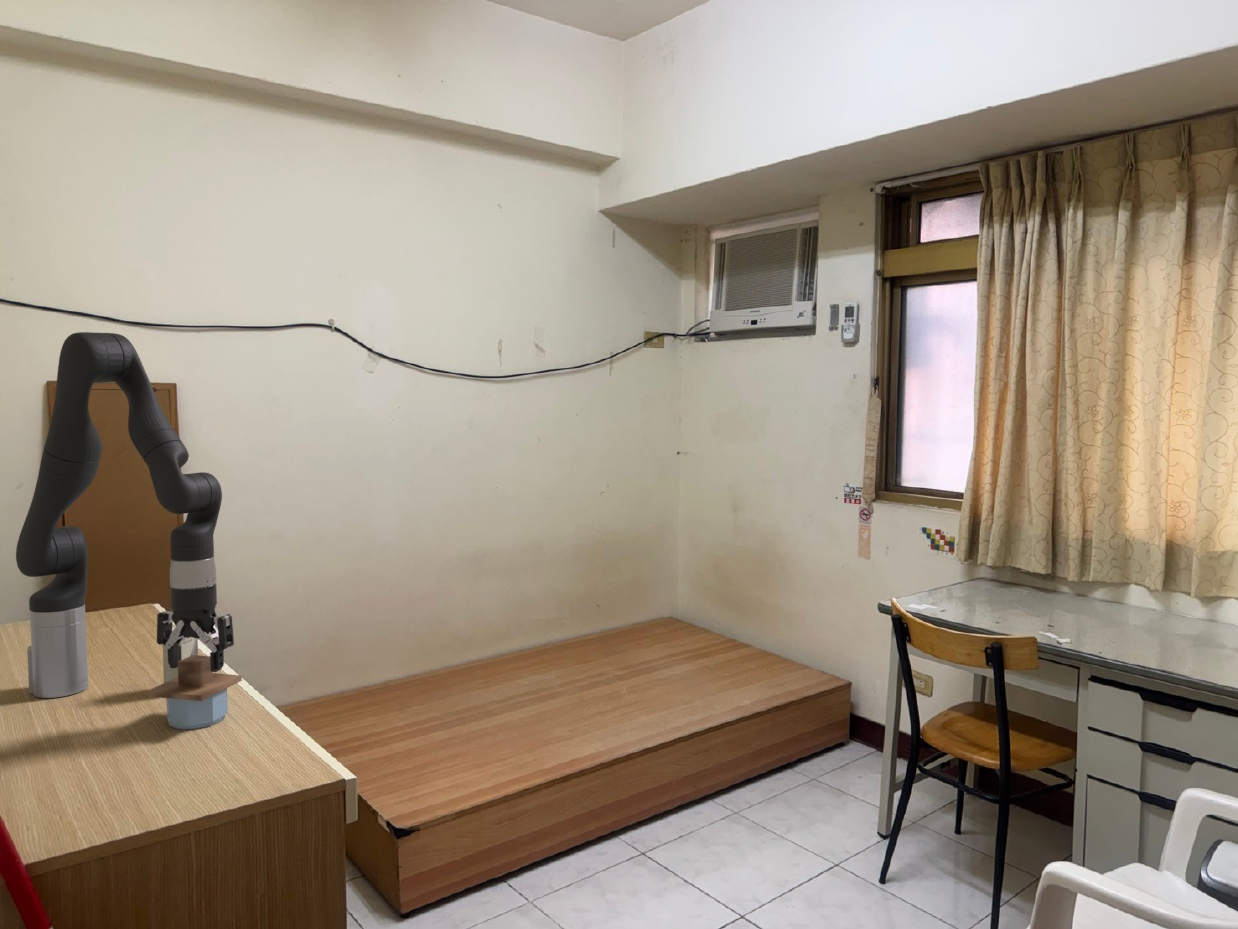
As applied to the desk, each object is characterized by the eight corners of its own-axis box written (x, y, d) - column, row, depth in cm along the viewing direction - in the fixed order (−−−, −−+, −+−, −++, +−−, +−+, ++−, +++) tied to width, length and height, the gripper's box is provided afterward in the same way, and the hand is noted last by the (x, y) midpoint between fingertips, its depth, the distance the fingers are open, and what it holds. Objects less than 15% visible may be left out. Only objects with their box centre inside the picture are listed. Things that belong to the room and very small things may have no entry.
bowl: (155, 727, 149) (154, 695, 149) (193, 708, 159) (192, 677, 158) (202, 732, 147) (201, 699, 147) (237, 712, 157) (236, 681, 156)
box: (182, 695, 165) (180, 632, 164) (163, 693, 166) (160, 630, 165) (200, 686, 171) (198, 625, 170) (181, 684, 171) (179, 623, 170)
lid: (147, 696, 148) (146, 666, 148) (190, 676, 159) (190, 648, 158) (201, 701, 146) (200, 670, 146) (241, 680, 157) (240, 652, 156)
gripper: (144, 584, 149) (147, 672, 150) (213, 589, 146) (216, 678, 147) (174, 576, 156) (177, 660, 157) (241, 580, 153) (243, 665, 154)
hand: (196, 669), depth 152 cm, fingers open, 8 cm apart
